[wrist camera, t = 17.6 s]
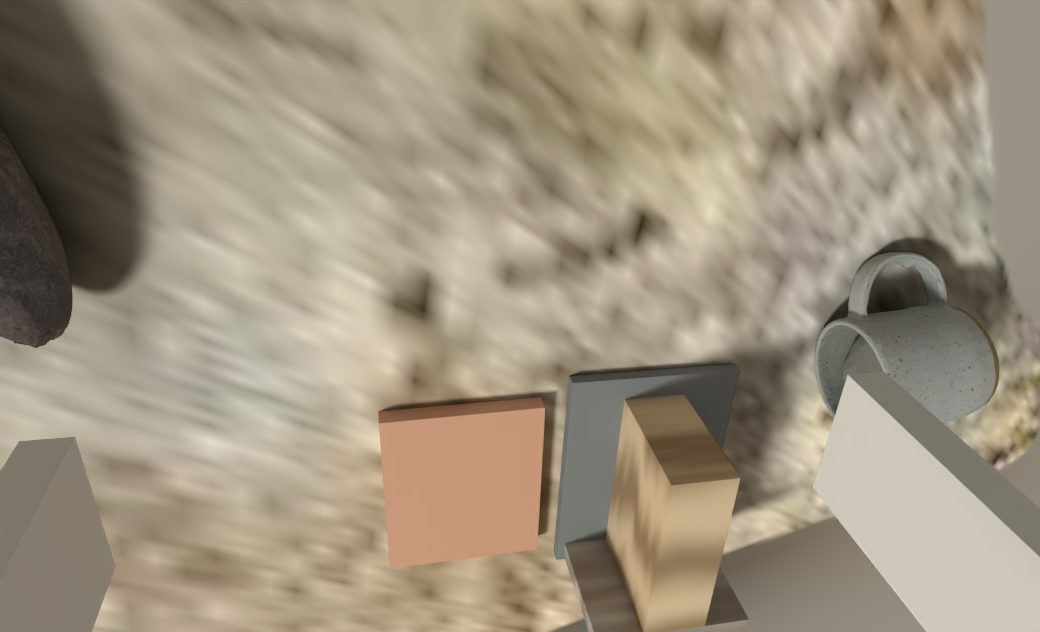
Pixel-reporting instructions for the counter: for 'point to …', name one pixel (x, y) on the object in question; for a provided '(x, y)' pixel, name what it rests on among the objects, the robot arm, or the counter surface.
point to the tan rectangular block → (661, 529)
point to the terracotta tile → (462, 479)
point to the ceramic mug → (910, 346)
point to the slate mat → (598, 433)
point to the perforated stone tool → (29, 260)
